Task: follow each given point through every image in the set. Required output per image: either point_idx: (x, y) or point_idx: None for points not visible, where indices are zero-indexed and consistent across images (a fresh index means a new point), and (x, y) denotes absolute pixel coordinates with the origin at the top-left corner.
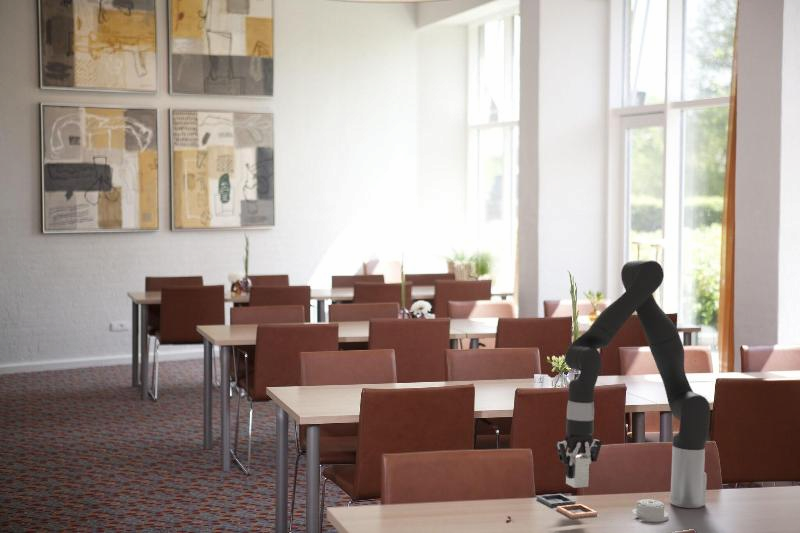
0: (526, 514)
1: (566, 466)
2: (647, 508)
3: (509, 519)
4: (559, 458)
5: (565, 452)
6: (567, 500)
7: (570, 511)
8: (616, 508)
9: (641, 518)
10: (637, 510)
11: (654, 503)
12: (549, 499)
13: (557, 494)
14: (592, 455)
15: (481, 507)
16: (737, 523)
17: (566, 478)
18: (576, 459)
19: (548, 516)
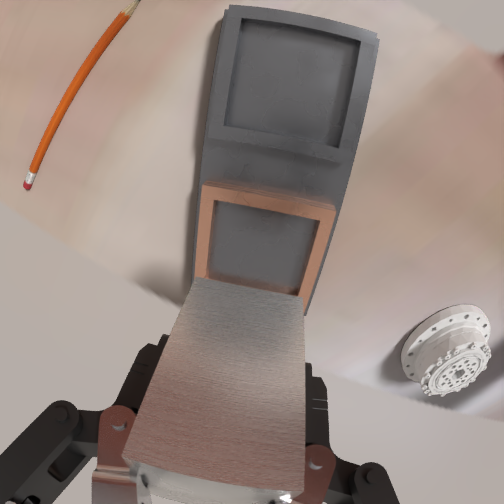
0: (100, 136)
1: (119, 401)
2: (420, 383)
3: (32, 177)
4: (41, 421)
5: (54, 496)
6: (346, 110)
7: (247, 224)
8: (460, 248)
9: (401, 359)
10: (428, 347)
11: (453, 383)
12: (291, 35)
13: (351, 33)
14: (376, 499)
15: (31, 27)
16: (489, 406)
17: (185, 303)
18: (150, 492)
19: (158, 190)
